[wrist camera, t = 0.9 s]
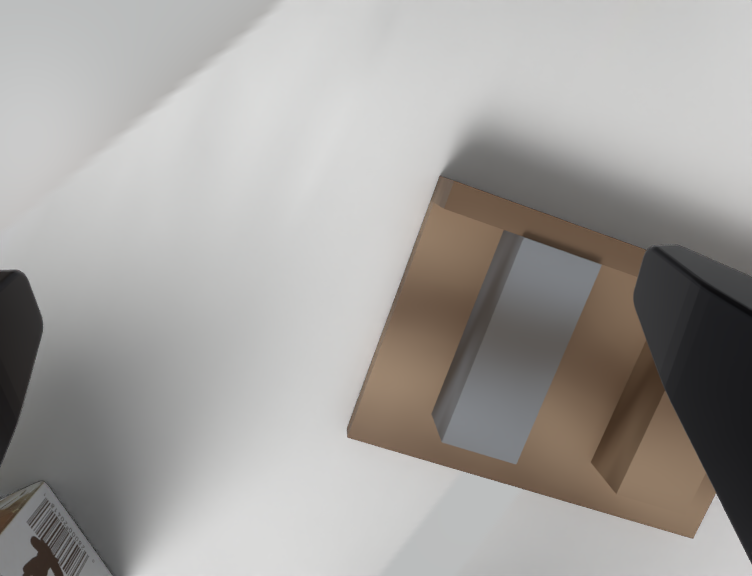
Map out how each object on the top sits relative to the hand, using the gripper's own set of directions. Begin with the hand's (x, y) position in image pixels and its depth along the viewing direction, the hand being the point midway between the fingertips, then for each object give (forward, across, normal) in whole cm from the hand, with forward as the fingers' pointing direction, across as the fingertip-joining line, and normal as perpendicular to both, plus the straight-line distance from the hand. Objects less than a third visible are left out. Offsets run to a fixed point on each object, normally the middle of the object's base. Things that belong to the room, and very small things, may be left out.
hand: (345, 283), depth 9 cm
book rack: (+12, -10, +12) cm, 20 cm away
